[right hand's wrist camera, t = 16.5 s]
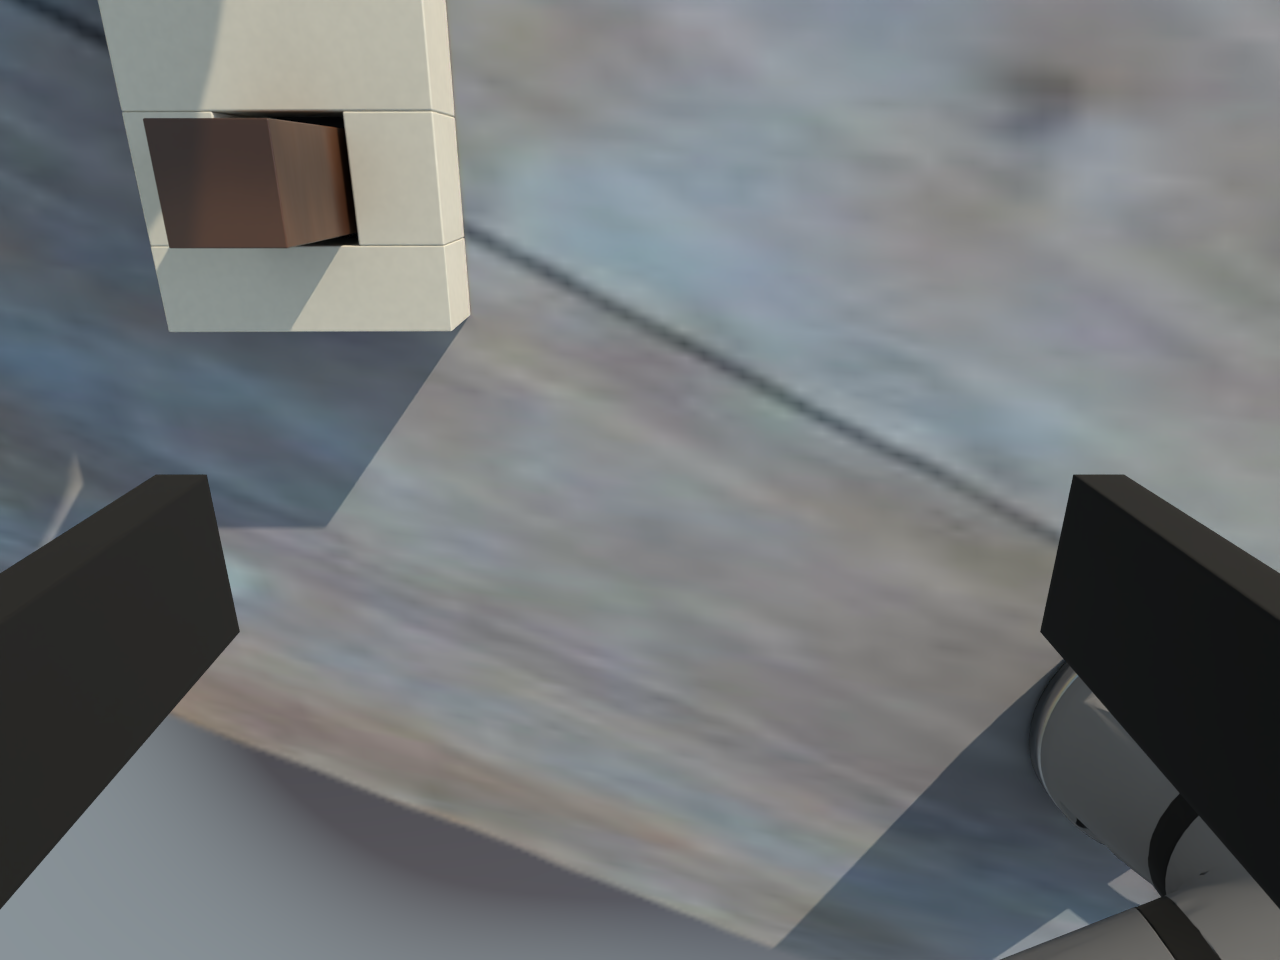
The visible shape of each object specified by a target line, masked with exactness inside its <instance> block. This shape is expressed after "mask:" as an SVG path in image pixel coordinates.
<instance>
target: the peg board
mask: <svg viewBox="0 0 1280 960" xmlns="http://www.w3.org/2000/svg"><path fill="white" fill-rule="evenodd" d="M98 4H99V8H100V13H101V18H102V22H103V27H104V31H105V36H106V41H107V45H108V50H109V55H110V59H111V64H112V69H113V73H114V78H115V82H116V87H117V92H118V96H119V101H120V106H121V110H122V111H124V112H122V115H123V120H124V125H125V129H126V134H127V139H128V143H129V148H130V152H131V157H132V162H133V166H134V171H135V176H136V180H137V185H138V190H139V194H140V199H141V203H142V208H143V213H144V217H145V222H146V227H147V231H148V236H149V240H150V245H151V246H152V247H151V251H152V255H153V260H154V265H155V269H156V274H157V278H158V283H159V288H160V292H161V297H162V302H163V306H164V311H165V315H166V320H167V325H168V329H169V332H407V331H452V330H454V329H455V328H456V327H457V326H458V325H459V324H461V323H462V322H463V321H464V320H465V319H466V318H467V317H469V316H470V304H469V292H468V279H467V266H466V253H465V241H464V238H463V237H464V230H463V217H462V205H461V192H460V179H459V167H458V154H457V141H456V128H455V119H454V103H453V90H452V77H451V65H450V52H449V39H448V27H447V14H446V1H445V0H98ZM256 117H343V120H344V128H345V136H346V144H347V152H348V160H349V168H350V176H351V184H352V192H353V200H354V208H355V216H356V224H357V232H358V238H331V239H327V240H322V241H318V242H313V243H309V244H304V245H300V246H295V247H291V248H169V244H168V240H167V235H166V230H165V225H164V220H163V215H162V210H161V205H160V201H159V196H158V191H157V186H156V181H155V176H154V171H153V167H152V162H151V157H150V152H149V147H148V142H147V137H146V133H145V128H144V123H143V118H256Z"/></svg>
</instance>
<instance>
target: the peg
mask: <svg viewBox="0 0 1280 960" xmlns="http://www.w3.org/2000/svg"><path fill="white" fill-rule="evenodd" d="M143 123H144V128H145V133H146V137H147V142H148V147H149V152H150V157H151V162H152V167H153V171H154V176H155V181H156V186H157V191H158V196H159V201H160V205H161V210H162V215H163V220H164V225H165V230H166V235H167V240H168V244H169V248H291V247H295V246H300V245H304V244H309V243H313V242H318V241H322V240H327V239H331V238H335V237H340V236H344V235H349V234H353V233H358V232H357V224H356V216H355V208H354V200H353V192H352V184H351V176H350V168H349V160H348V152H347V144H346V136H345V129H344V128H337V127H329V126H322V125H314V124H307V123H300V122H292V121H285V120H278V119H270V118H143Z"/></svg>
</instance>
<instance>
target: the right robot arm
mask: <svg viewBox="0 0 1280 960" xmlns="http://www.w3.org/2000/svg"><path fill="white" fill-rule="evenodd" d="M239 632H240V631H239V626H238V621H237V617H236V612H235V607H234V602H233V598H232V593H231V588H230V583H229V579H228V574H227V569H226V564H225V560H224V555H223V550H222V545H221V541H220V536H219V531H218V526H217V522H216V517H215V512H214V507H213V503H212V498H211V493H210V488H209V484H208V479H207V475H155V476H153V477H152V478H150V479H148V480H147V481H145V482H144V483H142V484H141V485H139V486H137V487H136V488H134V489H133V490H131V491H130V492H128V493H126V494H125V495H123V496H122V497H120V498H118V499H117V500H115V501H114V502H112V503H111V504H109V505H107V506H106V507H104V508H103V509H101V510H100V511H98V512H96V513H95V514H93V515H92V516H90V517H89V518H87V519H85V520H84V521H82V522H81V523H79V524H77V525H76V526H74V527H73V528H71V529H70V530H68V531H66V532H65V533H63V534H62V535H60V536H59V537H57V538H55V539H54V540H52V541H51V542H49V543H48V544H46V545H44V546H43V547H41V548H40V549H38V550H36V551H35V552H33V553H32V554H30V555H29V556H27V557H25V558H24V559H22V560H21V561H19V562H18V563H16V564H14V565H13V566H11V567H10V568H8V569H7V570H5V571H3V572H2V573H0V909H1V908H2V907H3V905H4V904H5V903H6V902H7V901H8V900H9V899H10V897H11V896H12V895H13V894H14V893H15V892H16V890H17V889H18V888H19V887H20V886H21V885H22V884H23V882H24V881H25V880H26V879H27V878H28V877H29V875H30V874H31V873H32V872H33V871H34V870H35V868H36V867H37V866H38V865H39V864H40V863H41V861H42V860H43V859H44V858H45V857H46V856H47V855H48V853H49V852H50V851H51V850H52V849H53V848H54V846H55V845H56V844H57V843H58V842H59V841H60V839H61V838H62V837H63V836H64V835H65V834H66V833H67V831H68V830H69V829H70V828H71V827H72V826H73V824H74V823H75V822H76V821H77V820H78V819H79V817H80V816H81V815H82V814H83V813H84V812H85V810H86V809H87V808H88V807H89V806H90V805H91V804H92V802H93V801H94V800H95V799H96V798H97V797H98V795H99V794H100V793H101V792H102V791H103V790H104V788H105V787H106V786H107V785H108V784H109V783H110V781H111V780H112V779H113V778H114V777H115V776H116V774H117V773H118V772H119V771H120V770H121V769H122V768H123V766H124V765H125V764H126V763H127V762H128V761H129V759H130V758H131V757H132V756H133V755H134V754H135V753H136V751H137V750H138V749H139V748H140V747H141V746H142V744H143V743H144V742H145V741H146V740H147V739H148V737H149V736H150V735H151V734H152V733H153V732H154V731H155V729H156V728H157V727H158V726H159V725H160V724H161V722H162V721H163V720H164V719H165V718H166V717H167V715H168V714H169V713H170V712H171V711H172V710H173V708H174V707H175V706H176V705H177V704H178V703H179V702H180V700H181V699H182V698H183V697H184V696H185V695H186V693H187V692H188V691H189V690H190V689H191V688H192V686H193V685H194V684H195V683H196V682H197V681H198V680H199V678H200V677H201V676H202V675H203V674H204V673H205V671H206V670H207V669H208V668H209V667H210V666H211V664H212V663H213V662H214V661H215V660H216V659H217V657H218V656H219V655H220V654H221V653H222V652H223V651H224V649H225V648H226V647H227V646H228V645H229V644H230V642H231V641H232V640H233V639H234V638H235V637H236V635H237V634H238V633H239ZM1040 632H1041V633H1042V634H1043V635H1044V637H1045V638H1046V639H1047V640H1048V641H1049V642H1050V644H1051V645H1052V646H1053V647H1054V648H1055V649H1056V651H1057V652H1058V653H1059V654H1060V655H1061V656H1062V657H1063V659H1064V660H1065V661H1066V663H1065V664H1064V665H1063V666H1062V667H1061V668H1060V670H1059V671H1058V672H1057V673H1056V675H1055V676H1054V677H1053V678H1052V680H1051V681H1050V683H1049V684H1048V686H1047V687H1046V689H1045V690H1044V692H1043V694H1042V696H1041V698H1040V700H1039V702H1038V704H1037V707H1036V709H1035V712H1034V715H1033V719H1032V723H1031V729H1030V739H1029V746H1030V756H1031V760H1032V764H1033V767H1034V770H1035V773H1036V775H1037V777H1038V778H1039V780H1040V782H1041V784H1042V785H1043V787H1044V788H1045V790H1046V791H1047V793H1048V795H1049V796H1050V798H1051V799H1052V800H1053V802H1054V803H1055V805H1056V806H1057V807H1058V808H1059V809H1060V810H1061V811H1062V812H1063V814H1064V815H1065V816H1066V817H1067V818H1068V819H1069V820H1070V821H1071V822H1072V823H1073V824H1074V825H1075V826H1076V827H1077V828H1079V829H1080V830H1081V831H1082V832H1084V833H1085V834H1086V835H1088V836H1089V837H1091V838H1092V839H1094V840H1096V841H1098V842H1099V843H1102V844H1104V845H1106V846H1107V847H1108V848H1109V849H1110V850H1111V851H1112V852H1113V853H1114V854H1115V855H1116V856H1117V857H1118V858H1119V859H1120V860H1121V861H1122V862H1124V863H1125V864H1126V865H1127V866H1129V867H1130V868H1131V869H1132V870H1134V871H1135V872H1136V873H1138V874H1139V875H1140V876H1141V877H1143V878H1144V879H1145V880H1147V881H1148V882H1149V883H1151V884H1152V885H1153V886H1154V888H1155V889H1156V890H1157V892H1158V893H1159V894H1160V896H1161V898H1158V899H1156V900H1153V901H1151V902H1148V903H1146V904H1143V905H1141V906H1138V907H1134V908H1131V909H1129V910H1126V911H1124V912H1121V913H1119V914H1116V915H1113V916H1111V917H1108V918H1106V919H1103V920H1101V921H1098V922H1096V923H1093V924H1090V925H1088V926H1085V927H1083V928H1080V929H1078V930H1075V931H1072V932H1070V933H1067V934H1065V935H1062V936H1060V937H1057V938H1055V939H1052V940H1049V941H1047V942H1044V943H1042V944H1039V945H1037V946H1034V947H1031V948H1029V949H1026V950H1024V951H1021V952H1019V953H1016V954H1014V955H1011V956H1008V957H1006V958H1003V959H1001V960H1280V573H1278V572H1277V571H1275V570H1273V569H1272V568H1270V567H1269V566H1267V565H1266V564H1264V563H1262V562H1261V561H1259V560H1258V559H1256V558H1255V557H1253V556H1251V555H1250V554H1248V553H1247V552H1245V551H1244V550H1242V549H1240V548H1239V547H1237V546H1236V545H1234V544H1232V543H1231V542H1229V541H1228V540H1226V539H1225V538H1223V537H1221V536H1220V535H1218V534H1217V533H1215V532H1214V531H1212V530H1210V529H1209V528H1207V527H1206V526H1204V525H1203V524H1201V523H1199V522H1198V521H1196V520H1195V519H1193V518H1191V517H1190V516H1188V515H1187V514H1185V513H1184V512H1182V511H1180V510H1179V509H1177V508H1176V507H1174V506H1173V505H1171V504H1169V503H1168V502H1166V501H1165V500H1163V499H1162V498H1160V497H1158V496H1157V495H1155V494H1154V493H1152V492H1150V491H1149V490H1147V489H1146V488H1144V487H1143V486H1141V485H1139V484H1138V483H1136V482H1135V481H1133V480H1132V479H1130V478H1128V477H1127V476H1125V475H1073V479H1072V484H1071V488H1070V493H1069V498H1068V503H1067V507H1066V512H1065V517H1064V522H1063V526H1062V531H1061V536H1060V541H1059V545H1058V550H1057V555H1056V560H1055V564H1054V569H1053V574H1052V579H1051V583H1050V588H1049V593H1048V598H1047V602H1046V607H1045V612H1044V617H1043V621H1042V626H1041V631H1040Z"/></svg>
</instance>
